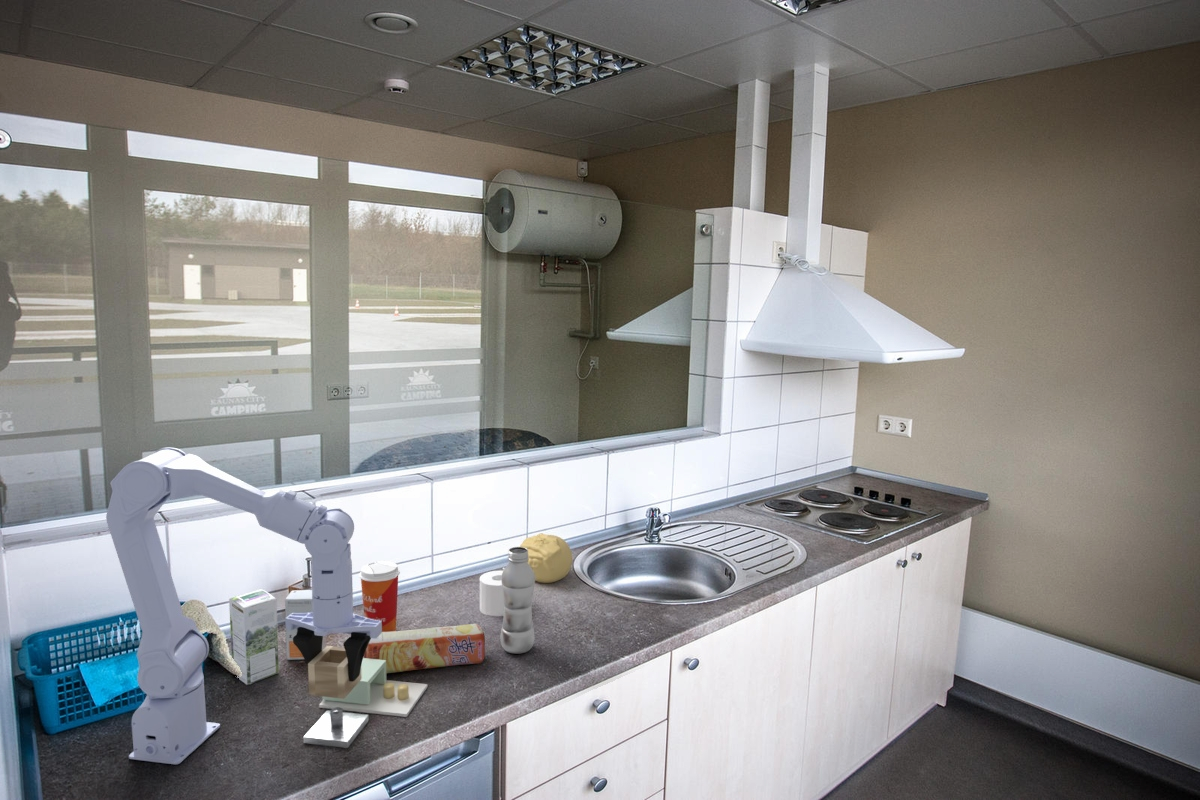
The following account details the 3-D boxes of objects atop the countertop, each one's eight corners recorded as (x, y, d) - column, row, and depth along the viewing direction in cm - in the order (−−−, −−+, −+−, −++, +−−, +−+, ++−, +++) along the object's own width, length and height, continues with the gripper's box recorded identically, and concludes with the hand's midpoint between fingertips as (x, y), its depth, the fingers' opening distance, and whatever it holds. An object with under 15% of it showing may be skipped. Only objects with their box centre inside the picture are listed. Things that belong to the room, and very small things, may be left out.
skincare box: (286, 661, 132) (283, 599, 130) (293, 649, 136) (291, 589, 134) (320, 660, 132) (318, 598, 130) (326, 648, 136) (324, 588, 135)
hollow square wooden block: (344, 698, 107) (343, 667, 106) (309, 694, 108) (308, 663, 107) (361, 679, 113) (360, 649, 112) (328, 675, 113) (327, 645, 113)
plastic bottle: (519, 638, 143) (520, 541, 140) (541, 650, 138) (543, 551, 135) (493, 648, 138) (493, 549, 135) (514, 662, 133) (515, 559, 130)
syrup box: (264, 662, 131) (260, 587, 129) (280, 674, 127) (276, 596, 125) (232, 674, 127) (227, 597, 124) (247, 687, 123) (243, 607, 121)
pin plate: (347, 748, 107) (346, 726, 107) (303, 742, 108) (302, 721, 108) (368, 720, 114) (368, 700, 114) (327, 716, 115) (326, 695, 115)
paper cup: (353, 634, 142) (351, 566, 140) (388, 621, 148) (386, 557, 146) (373, 648, 137) (372, 578, 135) (408, 634, 143) (407, 567, 141)
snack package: (480, 650, 137) (480, 616, 137) (486, 666, 131) (486, 631, 130) (363, 663, 131) (363, 628, 130) (363, 681, 124) (363, 644, 124)
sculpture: (512, 578, 172) (512, 535, 170) (547, 564, 181) (548, 523, 180) (546, 592, 165) (546, 547, 163) (581, 577, 174) (582, 534, 172)
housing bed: (406, 717, 115) (406, 703, 115) (319, 707, 117) (318, 694, 117) (427, 686, 124) (427, 674, 124) (345, 678, 126) (345, 666, 126)
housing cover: (368, 704, 117) (367, 681, 117) (322, 699, 118) (321, 677, 118) (386, 681, 124) (386, 660, 124) (342, 677, 125) (342, 655, 125)
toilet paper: (509, 592, 164) (509, 563, 163) (521, 613, 153) (521, 583, 152) (473, 597, 161) (473, 567, 160) (483, 618, 151) (483, 587, 150)
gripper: (272, 599, 105) (276, 685, 107) (366, 607, 103) (368, 695, 105) (298, 580, 112) (301, 661, 114) (387, 587, 110) (388, 670, 112)
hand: (335, 676), depth 110 cm, fingers closed on hollow square wooden block, 6 cm apart
